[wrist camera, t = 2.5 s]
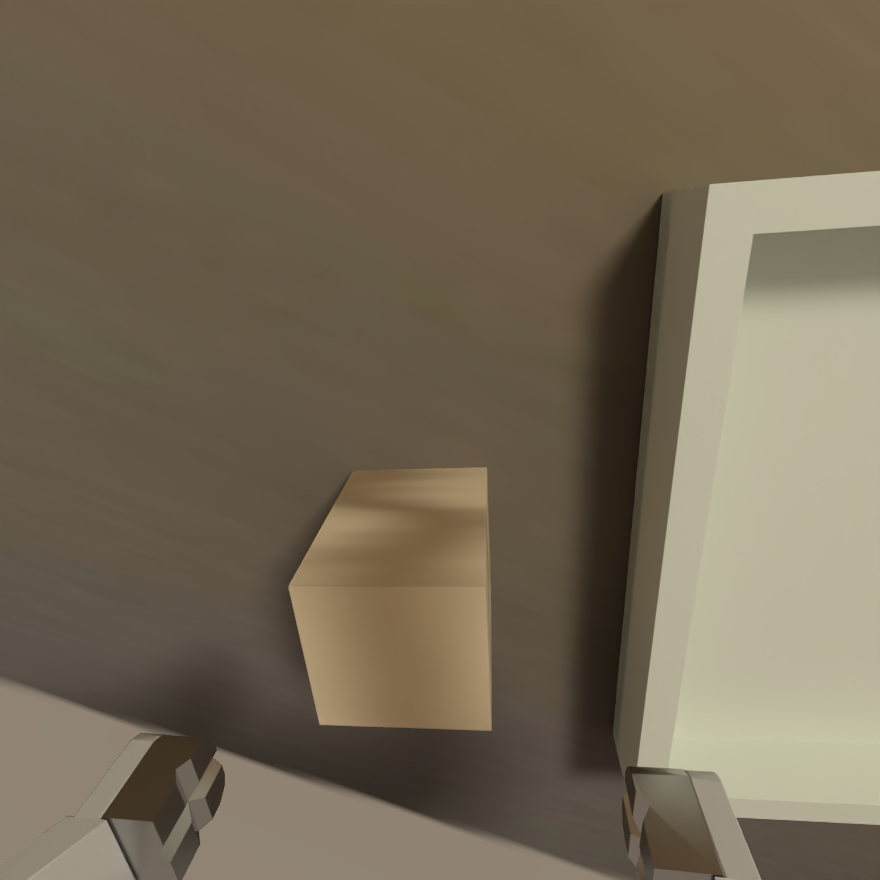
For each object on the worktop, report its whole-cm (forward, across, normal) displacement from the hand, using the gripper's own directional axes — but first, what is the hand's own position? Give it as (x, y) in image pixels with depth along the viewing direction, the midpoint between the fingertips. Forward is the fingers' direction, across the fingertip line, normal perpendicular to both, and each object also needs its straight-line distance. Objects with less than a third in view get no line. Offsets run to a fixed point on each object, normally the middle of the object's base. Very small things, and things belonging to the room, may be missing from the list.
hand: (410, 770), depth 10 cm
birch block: (+8, +1, 0) cm, 9 cm away
